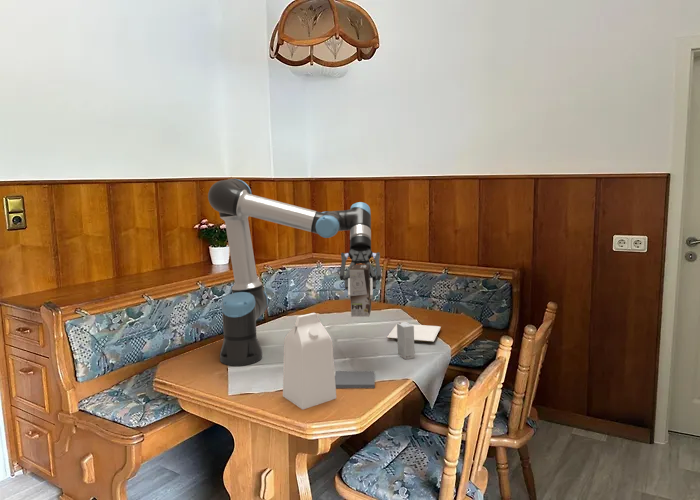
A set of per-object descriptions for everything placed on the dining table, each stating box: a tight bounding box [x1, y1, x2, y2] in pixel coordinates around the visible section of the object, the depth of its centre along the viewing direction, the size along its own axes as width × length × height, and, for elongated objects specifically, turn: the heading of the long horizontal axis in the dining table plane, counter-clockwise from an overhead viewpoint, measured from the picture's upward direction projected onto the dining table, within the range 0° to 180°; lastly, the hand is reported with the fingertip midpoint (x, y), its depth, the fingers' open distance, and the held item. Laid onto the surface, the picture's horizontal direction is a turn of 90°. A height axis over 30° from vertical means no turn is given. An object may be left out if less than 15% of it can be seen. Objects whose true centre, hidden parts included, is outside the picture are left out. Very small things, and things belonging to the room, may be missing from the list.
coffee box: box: [349, 263, 372, 318], centre depth 184 cm, size 9×6×16 cm
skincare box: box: [396, 321, 416, 360], centre depth 198 cm, size 6×4×12 cm
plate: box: [386, 323, 442, 344], centre depth 221 cm, size 19×19×2 cm
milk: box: [282, 312, 337, 410], centre depth 164 cm, size 12×12×26 cm
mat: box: [335, 370, 376, 389], centre depth 178 cm, size 11×13×1 cm
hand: (360, 296), depth 181 cm, fingers closed on coffee box, 7 cm apart
